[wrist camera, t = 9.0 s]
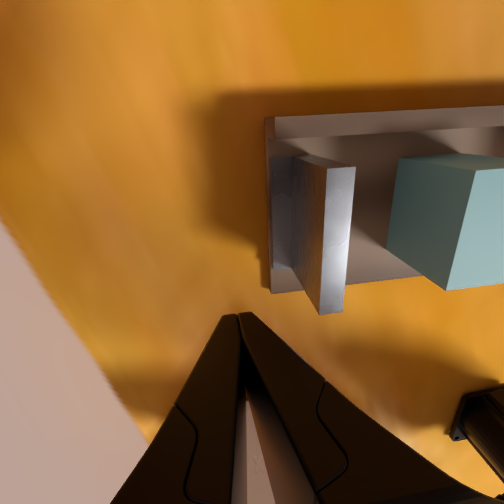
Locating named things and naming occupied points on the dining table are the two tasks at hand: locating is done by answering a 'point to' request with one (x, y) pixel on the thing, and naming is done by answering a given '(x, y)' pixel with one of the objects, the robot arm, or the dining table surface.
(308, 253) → the bookend
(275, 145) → the shelf board
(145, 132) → the dining table surface
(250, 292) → the dining table surface
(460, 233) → the teal block
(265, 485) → the photo printer
